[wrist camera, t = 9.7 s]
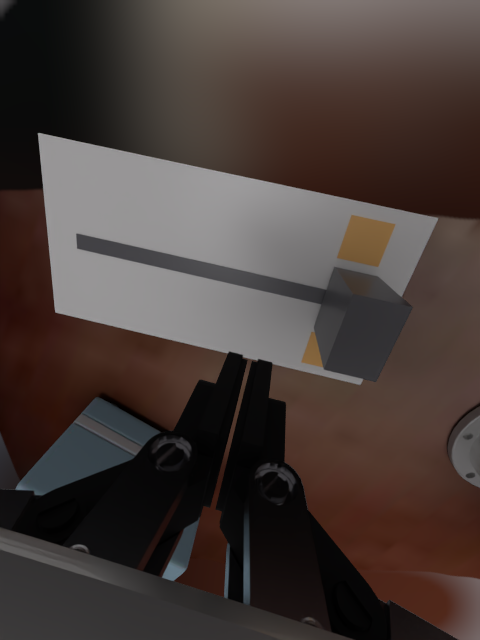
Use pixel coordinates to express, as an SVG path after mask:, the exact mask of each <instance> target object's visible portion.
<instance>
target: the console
mask: <svg viewBox="0 0 480 640" xmlns="http://www.w3.org/2000/svg"><path fill="white" fill-rule="evenodd" d="M38 138H39V148H40V158H41V168H42V179H43V190H44V200H45V210H46V221H47V231H48V242H49V252H50V262H51V273H52V283H53V293H54V304H55V312H56V313H60V314H64V315H69V316H73V317H77V318H81V319H85V320H90V321H94V322H98V323H102V324H106V325H111V326H115V327H119V328H123V329H127V330H132V331H136V332H140V333H144V334H149V335H153V336H157V337H161V338H165V339H170V340H174V341H178V342H182V343H186V344H191V345H195V346H199V347H203V348H207V349H212V350H216V351H220V352H224V353H229V351H230V352H234V353H238V354H242V355H243V357H245V358H249V359H254V360H258V359H261V360H265V361H269V362H272V364H275V365H279V366H283V367H287V368H291V369H296V370H300V371H304V372H308V373H312V374H317V375H321V376H325V377H329V378H333V379H338V380H342V381H346V382H350V383H354V384H359V385H361V383H362V381H363V379H361V378H357V377H352V376H348V375H344V374H340V373H336V372H331V371H327V370H324V369H323V364H322V360H321V356H320V352H319V347H318V343H317V339H316V335H315V331H314V325H315V322H316V319H317V316H318V313H319V310H320V307H321V304H322V302H323V299H324V296H325V293H326V290H327V287H328V284H329V281H330V278H331V275H332V272H333V269H334V267H337V268H342V269H346V270H351V271H355V272H360V273H364V274H369V275H373V276H378V277H379V278H380V279H381V280H383V281H384V282H385V283H386V284H387V285H388V286H389V287H391V288H392V289H393V290H394V291H395V292H396V293H397V294H398V295H400V296H401V297H402V295H403V293H404V291H405V289H406V287H407V284H408V282H409V280H410V278H411V276H412V274H413V272H414V270H415V267H416V265H417V263H418V261H419V259H420V257H421V255H422V252H423V250H424V248H425V246H426V244H427V242H428V240H429V238H430V235H431V233H432V231H433V229H434V227H435V225H436V223H437V220H438V218H435V217H430V216H426V215H421V214H416V213H411V212H407V211H402V210H397V209H393V208H388V207H383V206H379V205H374V204H369V203H365V202H359V201H355V200H350V199H346V198H341V197H336V196H332V195H327V194H322V193H318V192H313V191H308V190H303V189H298V188H294V187H289V186H285V185H280V184H275V183H271V182H266V181H261V180H257V179H252V178H247V177H242V176H237V175H233V174H228V173H223V172H219V171H214V170H210V169H204V168H200V167H196V166H190V165H186V164H181V163H177V162H172V161H167V160H163V159H158V158H153V157H148V156H144V155H139V154H135V153H129V152H125V151H120V150H116V149H111V148H106V147H102V146H97V145H92V144H88V143H83V142H78V141H74V140H69V139H64V138H59V137H55V136H50V135H45V134H41V133H38Z"/></svg>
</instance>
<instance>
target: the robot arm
mask: <svg viewBox="0 0 480 640" xmlns="http://www.w3.org/2000/svg"><path fill="white" fill-rule="evenodd" d="M242 357H243V355H242V354H238V353H234V352H230V351H229V353H228V355H227V358H226V360H225V362H224V365H223V367H222V370H221V372H220V375H219V377H218V380H217V382H216V384H215V383H211V382H208V381H204V380H199V381H198V383H197V385H196V387H195V389H194V391H193V393H192V395H191V397H190V399H189V401H188V403H187V405H186V407H185V409H184V411H183V413H182V415H181V417H180V419H179V421H178V423H177V425H176V427H175V429H174V431H165V432H161V433H159V434H157V435H155V436H153V437H152V438H151V439H149V440H148V441H147V442H146V444H145V445H144V446H143V447H142V448H141V450H140V451H139V452H138V453H137V455H136V456H135V457H134V458H133V459H132V460H129V461H127V462H124V463H121V464H119V465H116V466H113V467H111V468H108V469H106V470H103V471H100V472H98V473H95V474H93V475H90V476H87V477H85V478H82V479H80V480H77V481H74V482H72V483H69V484H67V485H64V486H61V487H59V488H56V489H54V490H52V491H50V492H48V493H46V494H44V495H35V493H34V491H33V490H11V489H0V640H458V639H456V638H455V637H453V636H451V635H449V634H448V633H446V632H444V631H442V630H441V629H439V628H437V627H436V626H434V625H432V624H430V623H429V622H427V621H425V620H423V619H422V618H420V617H418V616H417V615H415V614H413V613H411V612H410V611H408V610H406V609H404V608H403V607H401V606H399V605H398V604H396V603H394V602H392V601H391V600H389V601H388V602H387V603H385V602H383V601H381V600H380V599H378V598H377V596H376V595H375V593H374V592H373V590H372V589H371V587H370V586H369V584H368V583H367V582H366V581H365V579H364V578H363V577H362V576H361V575H360V573H359V572H358V571H357V570H356V568H355V567H354V566H353V565H352V563H351V562H350V561H349V560H348V559H347V557H346V556H345V555H344V554H343V552H342V551H341V550H340V549H339V547H338V546H337V545H336V544H335V543H334V541H333V540H332V539H331V538H330V536H329V535H328V534H327V533H326V531H325V530H324V529H323V528H322V527H321V525H320V524H319V523H318V522H317V520H316V519H315V518H314V517H313V516H312V514H311V513H310V512H309V511H308V508H307V503H306V498H305V493H304V487H303V484H302V481H301V478H300V477H299V475H298V474H297V472H296V471H295V470H294V469H293V468H292V467H291V466H290V465H288V464H287V463H285V462H284V457H285V418H286V403H285V402H283V401H279V400H275V399H271V398H269V389H270V380H271V371H272V362H269V361H265V360H261V359H258V362H253V361H252V363H251V367H250V371H249V375H248V379H247V383H246V387H245V391H244V395H243V399H242V403H241V407H240V411H239V415H238V419H237V423H236V427H235V431H234V435H233V439H232V444H231V448H230V452H229V456H228V460H227V464H226V468H225V472H224V477H223V481H222V485H221V489H220V493H219V497H218V501H217V505H216V510H219V511H222V514H221V519H220V529H221V530H222V532H223V534H224V536H225V538H226V539H227V541H228V545H227V553H226V573H225V594H224V597H221V596H218V595H214V594H212V593H208V592H205V591H202V590H199V589H196V588H193V587H190V586H187V585H183V584H180V583H177V582H174V581H171V580H168V579H165V578H162V576H163V574H164V572H165V570H166V568H167V566H168V564H169V562H170V560H171V558H172V555H173V553H174V551H175V549H176V547H177V545H178V543H179V541H180V539H181V537H182V534H183V531H184V528H186V527H188V526H189V525H191V524H193V523H195V522H196V521H198V519H199V517H200V516H201V512H202V509H203V506H206V507H209V508H210V506H211V502H212V498H213V494H214V490H215V487H216V483H217V479H218V475H219V471H220V468H221V464H222V460H223V456H224V452H225V448H226V445H227V441H228V437H229V433H230V429H231V425H232V422H233V418H234V414H235V410H236V405H237V401H238V397H239V393H240V389H241V385H242V381H243V377H244V372H245V368H246V364H247V360H246V359H242ZM447 448H448V456H449V458H450V461H451V463H452V465H453V466H454V468H455V469H456V471H457V472H458V474H459V475H460V476H461V477H462V478H463V479H464V480H466V481H468V482H469V483H471V484H472V485H474V486H477V487H479V488H480V406H479V407H477V408H476V409H474V410H473V411H471V412H470V413H468V414H467V415H466V416H465V417H464V418H463V419H462V420H461V421H460V422H459V423H458V424H457V426H456V427H455V428H454V429H453V431H452V433H451V436H450V438H449V442H448V447H447Z"/></svg>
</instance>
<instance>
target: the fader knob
mask: <svg viewBox="0 0 480 640" xmlns="http://www.w3.org/2000/svg"><path fill="white" fill-rule="evenodd" d="M412 308H413V307H412V306H411V305H410V304H409V303H407V302H406V301H405V300H404V299H403V298H402V297H401V296H400V295H398V294H397V293H396V292H395V291H394V290H393V289H392V288H391V287H389V286H388V285H387V284H386V283H385V282H384V281H383V280H381V279H380V278H379V277H378V276H373V275H369V274H364V273H360V272H355V271H351V270H346V269H342V268H337V267H334V269H333V272H332V275H331V278H330V281H329V284H328V287H327V290H326V293H325V296H324V299H323V302H322V304H321V307H320V310H319V313H318V316H317V319H316V322H315V325H314V331H315V335H316V339H317V343H318V347H319V352H320V356H321V360H322V364H323V369H324V370H327V371H331V372H336V373H340V374H344V375H348V376H352V377H357V378H361V379H365V380H369V381H373V382H376V381H377V379H378V377H379V375H380V373H381V371H382V369H383V367H384V365H385V363H386V361H387V359H388V357H389V355H390V353H391V351H392V348H393V346H394V344H395V342H396V340H397V338H398V336H399V334H400V332H401V330H402V328H403V326H404V324H405V322H406V320H407V318H408V316H409V314H410V312H411V310H412Z"/></svg>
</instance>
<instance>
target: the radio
mask: <svg viewBox="0 0 480 640" xmlns="http://www.w3.org/2000/svg"><path fill="white" fill-rule="evenodd" d="M159 433H161V432H160V431H158V430H156V429H155V428H153V427H151V426H149V425H148V424H146V423H144V422H142V421H141V420H139V419H137V418H135V417H133V416H132V415H130V414H128V413H126V412H125V411H123V410H121V409H119V408H118V406H117V405H116V404H114V403H109V402H107V401H105V400H103V399H101V398H99V397H96V398H95V399H94V400H93V401H92V402H91V403H90V404H89V405H88V406H87V408H86V409H85V410H84V411H83V412H82V413H81V415H79V417H78V418H77V419H76V420H75V421H74V422H73V424H71V425H70V427H69V428H68V429H67V430H66V431H65V432H64V433H63V434H62V435H61V437H60V438H59V439H58V440H57V441H56V442H55V443H54V444H53V445H52V447H51V448H50V449H49V450H48V451H47V452H46V453H45V454H44V455H43V457H42V458H41V459H40V460H39V461H38V462H37V463H36V464H35V466H34V467H33V468H32V469H31V470H30V471H29V472H28V473H27V474H26V476H25V477H24V478H23V479H22V480H21V481H20V482H19V484H18V485H17V487H16V490H33V491H34V493H35V495H44V494H46V493H48V492H50V491H52V490H54V489H56V488H59V487H61V486H64V485H67V484H69V483H72V482H74V481H77V480H80V479H82V478H85V477H87V476H90V475H93V474H95V473H98V472H100V471H103V470H106V469H108V468H111V467H113V466H116V465H119V464H121V463H124V462H127V461H129V460H132V459H133V458H134V457H135V456H136V455H137V453H138V452H139V451H140V450H141V448H142V447H143V446H144V445H145V444H146V442H147V441H148V440H149V439H151V438H152V437H153V436H155V435H157V434H159ZM199 518H200V517H199ZM198 522H199V519H198V521H196V522H195V523H193V524H191V525H189V526H188V527H186V528H184V531H183V534H182V537H181V539H180V541H179V543H178V545H177V547H176V549H175V551H174V553H173V555H172V558H171V560H170V562H169V564H168V566H167V568H166V570H165V572H164V574H163V576H162V578H165V579H168V580H171V581H174V580H175V579H176V578H177V577H178V576H180V575H181V574H182V573H183V572H184V571H185V570H186V569H187V566H188V563H189V559H190V554H191V550H192V546H193V542H194V538H195V534H196V530H197V526H198Z"/></svg>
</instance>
